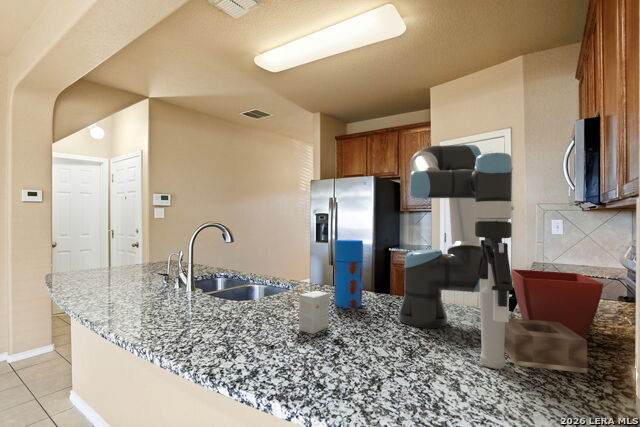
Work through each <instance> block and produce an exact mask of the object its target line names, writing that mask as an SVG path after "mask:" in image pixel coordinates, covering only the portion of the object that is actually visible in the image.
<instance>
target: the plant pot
mask: <svg viewBox="0 0 640 427" xmlns="http://www.w3.org/2000/svg"><path fill="white" fill-rule="evenodd" d="M510 272H511V279H512V285H513V288H514V292H515V293H514V294H515V297H516V301H517V305H518V308H519V310H520V311H519V312H520V316H521V319H526V320H538V321H551V322H559V323H561V324H562V325H564V326H565V327H567V328H568V329H570V330H571V331H573V332H574V333H576V334H578V335H579V336H581V337H582V338H584V339H585V338H586V336H587V334H588V333H589V331H590V329H591V327H592V324H593V322H594V320H595V316H596V314H597V311H598V308H599V306H600V301H601V299H602V298H601V297H602V293H603V289H604V283H603V282H602V281H598V280H596V279H594V278H591V277H588V276H587V275H584V274H581V273H575V272H564V271H563V272H560V271H549V270H548V271H546V270H544V271H543V270H534V269H533V270H532V269H510Z"/></svg>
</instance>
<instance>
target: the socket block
mask: <svg viewBox="0 0 640 427" xmlns="http://www.w3.org/2000/svg"><path fill="white" fill-rule="evenodd" d="M504 353H506V355H507V356H508V357H509V359H510V360H511V362H513V364H514V365H515V366H519V367H530V368H536V369H537V368H538V369H545V370H546V369H547V370H557V371H565V372H566V371H567V372H574V373H583V374H588V340H587V339H585V338H582V337H581V336H579V335H578V334H576V333H574V332H573V331H571V330H570V329H568V328H567V327H565V326H564V325H562V324H561V323H559V322H551V321H538V320H526V319H523V318H511V317H509V322H505V341H504Z"/></svg>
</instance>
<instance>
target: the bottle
mask: <svg viewBox="0 0 640 427" xmlns="http://www.w3.org/2000/svg"><path fill="white" fill-rule="evenodd" d="M492 286H495V284H494V278H493V273H492V268H491V264H489V263H488V284H486V287H485V288H483V289H482V290H481V291H480V292H481V305H480V332H481V333H480V334H481V336H480V337H481V338H480V339H481V352H480V355H479V356H480V363H481V365H483V366H485V367H487V368H491V369H494V370H500V369H504V368H505V366H506V357H505V351H504V341H505V322H499V321H494V290H492ZM480 292H479V293H480Z"/></svg>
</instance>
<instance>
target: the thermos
mask: <svg viewBox="0 0 640 427" xmlns="http://www.w3.org/2000/svg"><path fill="white" fill-rule="evenodd" d="M363 265H364V241H363V240H361V239H335V244H334V305H335V306H336V307H339V308H344V309H357V308H360V307H362V305H363V289H364V288H363V286H364V284H363V283H364V282H363V281H364V280H363V279H364V278H363V275H364V273H363V272H364V266H363Z"/></svg>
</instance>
